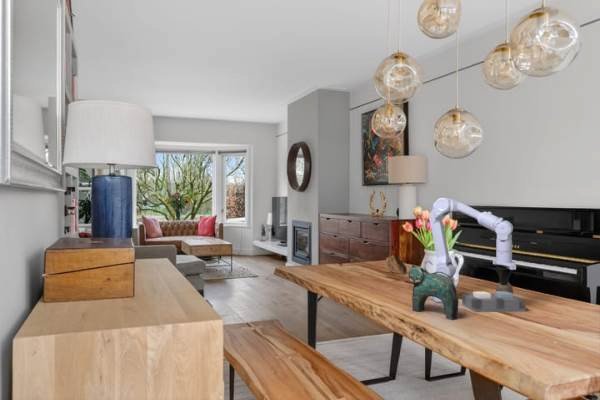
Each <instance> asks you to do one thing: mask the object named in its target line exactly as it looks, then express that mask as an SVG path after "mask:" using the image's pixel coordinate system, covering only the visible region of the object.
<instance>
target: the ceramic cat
mask: <svg viewBox="0 0 600 400" xmlns="http://www.w3.org/2000/svg"><path fill="white" fill-rule="evenodd" d="M427 263H429V264H431V266H433V265H434V264H433V263H432V261H429V260H428V261H427V260H426V261H425V263H424V265H426V264H427ZM436 273H442V274H445V275H447V274H446V273H443V272H435V271H434V272H429V271H428V270H427V268H426V267H421V266H420V267H419V266H418V267H417V266H416V265H415V264H412V265H411V268H410V270H408V280H409V282H411V283H412V284H413V287H412V297H411V301H412V303H411V304H412V309H411V310H412V311H413V312H417V313H419V312H420V313H421V312H425V304H426V301H427V299H428V298H429V297H431V296H432V297H436V298H439V299H440V300H441V301H442V302H441V303H442V307H443V309H444V313H445V318H446V319H447V320H451V321H455V320H457V318H458V312H459V299H458V292H457V287H456V285H455V282H454V283H453V281H452V279H451V277H450V276H449V275H447V276H448V277H449V278H450V279H451V280H450V279H449V278H448V277H446V276H444V275H441V274H436Z"/></svg>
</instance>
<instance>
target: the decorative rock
mask: <svg viewBox="0 0 600 400" xmlns="http://www.w3.org/2000/svg"><path fill="white" fill-rule="evenodd" d="M385 262H386V265H387V267H388V270H389V271H390V273H391V272H392V273H395V274H399V275H404V274H406V272H407V271H408V270H407V266H406V264H405V263H404V262H403V261H402V260H401V258H398V256H397V255H396V254H392V255H391V256H386V258H385Z"/></svg>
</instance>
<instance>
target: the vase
mask: <svg viewBox="0 0 600 400" xmlns="http://www.w3.org/2000/svg"><path fill="white" fill-rule="evenodd" d="M495 291H507V292H510V293H512V294H513V295H514V289H513V286H512V284H510V282H509V281H508V284H507V285H501V284H500V282H499V283H498V284H497V285H496V287H495Z"/></svg>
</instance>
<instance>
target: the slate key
mask: <svg viewBox="0 0 600 400" xmlns="http://www.w3.org/2000/svg"><path fill="white" fill-rule="evenodd" d="M494 293H495V296H497V297H499V298H513V295H514V293H513V294H512V293H510V292H507V291H496V290H495V291H494Z"/></svg>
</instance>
